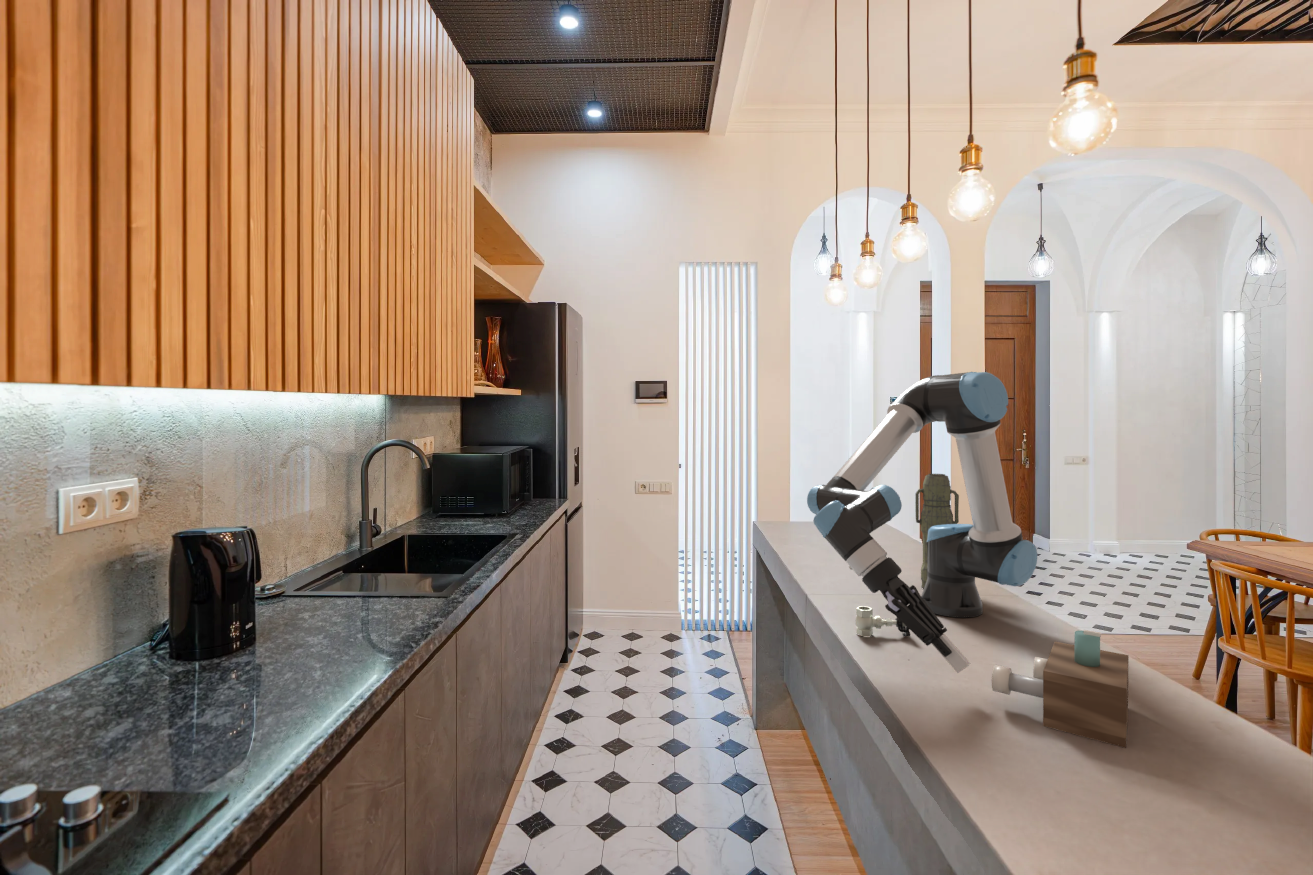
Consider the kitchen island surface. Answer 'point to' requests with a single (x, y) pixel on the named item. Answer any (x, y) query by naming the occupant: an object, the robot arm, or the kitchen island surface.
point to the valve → (875, 622)
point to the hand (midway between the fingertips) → (964, 667)
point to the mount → (1086, 695)
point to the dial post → (1087, 648)
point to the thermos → (934, 510)
